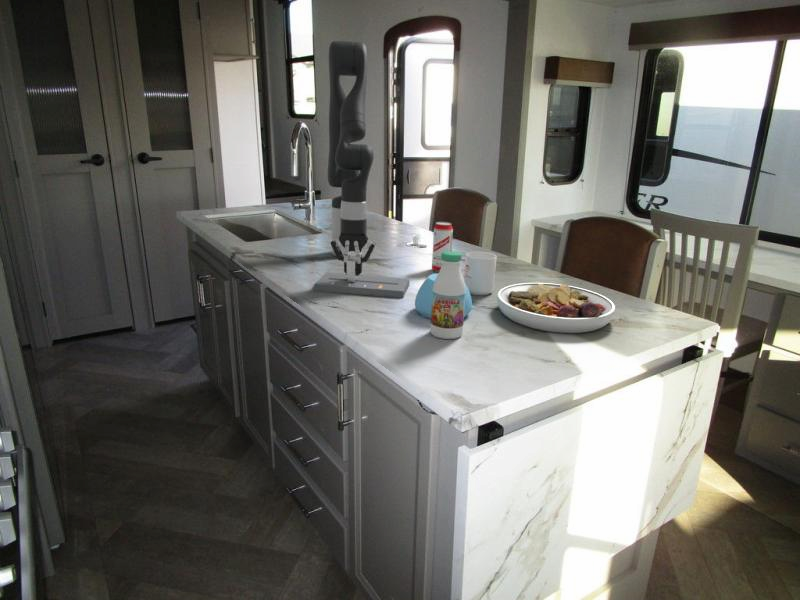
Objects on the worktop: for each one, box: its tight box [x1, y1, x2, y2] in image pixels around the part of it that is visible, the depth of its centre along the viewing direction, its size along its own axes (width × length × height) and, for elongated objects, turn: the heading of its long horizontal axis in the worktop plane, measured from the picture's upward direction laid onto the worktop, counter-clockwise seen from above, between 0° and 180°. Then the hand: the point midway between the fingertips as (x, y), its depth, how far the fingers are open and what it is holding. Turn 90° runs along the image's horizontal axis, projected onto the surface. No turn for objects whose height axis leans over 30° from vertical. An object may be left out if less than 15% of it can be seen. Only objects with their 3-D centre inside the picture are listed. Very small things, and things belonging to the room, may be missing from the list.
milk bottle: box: [429, 250, 465, 340], centre depth 134 cm, size 8×8×20 cm
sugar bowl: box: [414, 273, 473, 320], centre depth 149 cm, size 15×15×12 cm
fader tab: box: [347, 256, 358, 282], centre depth 168 cm, size 6×2×6 cm, turn 171°
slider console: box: [313, 271, 411, 299], centre depth 169 cm, size 13×26×2 cm, turn 81°
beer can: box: [431, 221, 454, 273], centre depth 189 cm, size 6×6×16 cm
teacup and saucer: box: [406, 234, 428, 248], centre depth 225 cm, size 9×8×4 cm
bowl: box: [497, 282, 616, 334], centre depth 151 cm, size 30×30×8 cm
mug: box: [463, 251, 498, 296], centre depth 170 cm, size 12×9×11 cm
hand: (352, 274), depth 169 cm, fingers closed on fader tab, 2 cm apart
